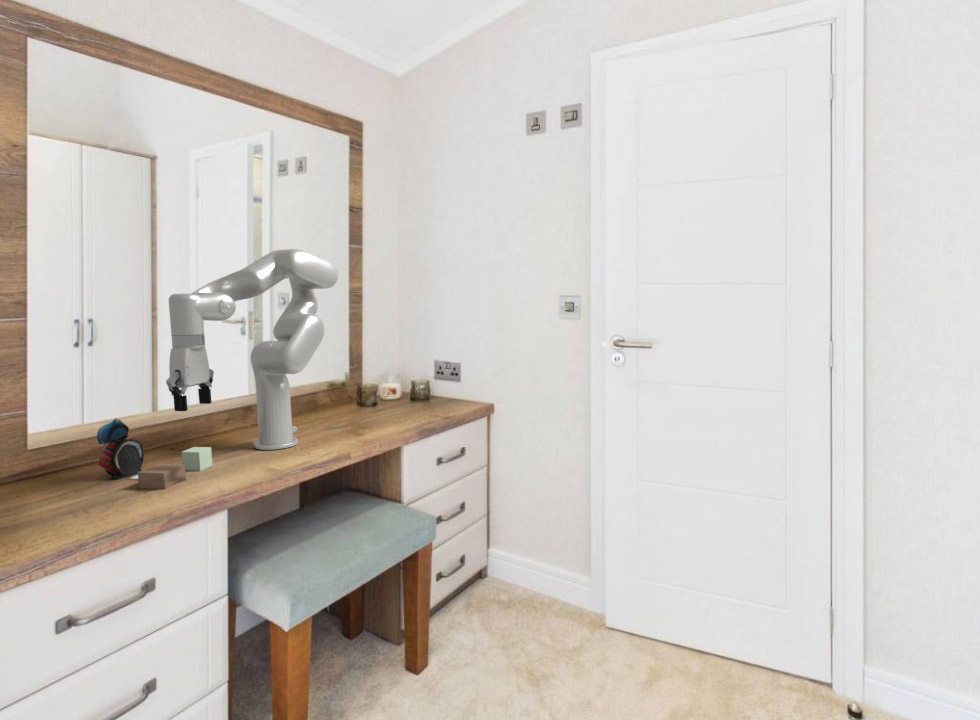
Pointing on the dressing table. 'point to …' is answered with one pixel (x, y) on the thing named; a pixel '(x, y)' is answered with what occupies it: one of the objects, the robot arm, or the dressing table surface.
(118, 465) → the figurine
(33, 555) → the dressing table surface
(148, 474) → the walnut base
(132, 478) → the tile
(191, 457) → the sage cube
